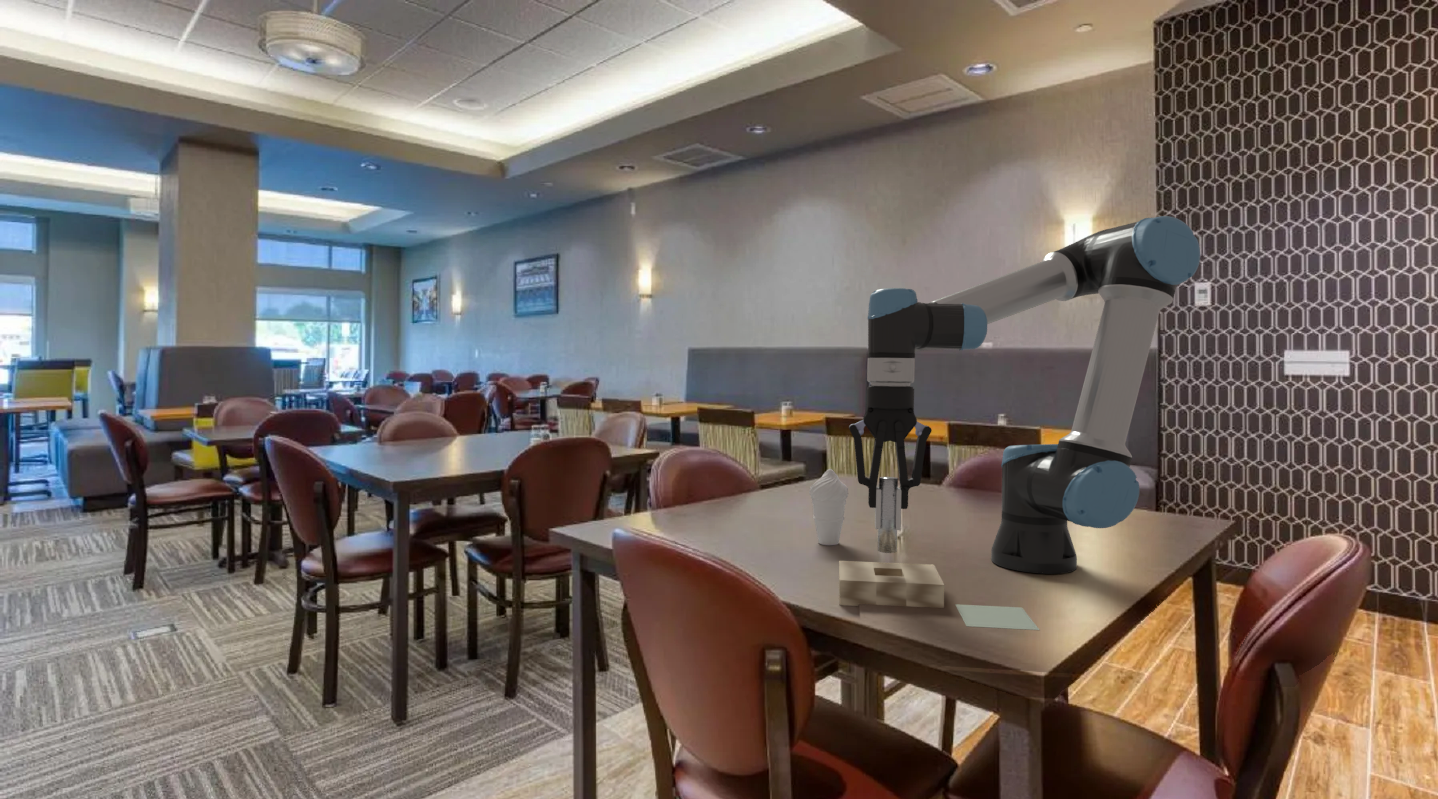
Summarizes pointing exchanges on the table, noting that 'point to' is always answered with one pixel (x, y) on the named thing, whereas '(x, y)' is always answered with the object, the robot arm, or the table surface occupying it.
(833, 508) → the soft serve ice cream cone
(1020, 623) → the mat
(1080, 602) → the table surface
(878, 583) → the block
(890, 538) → the peg
